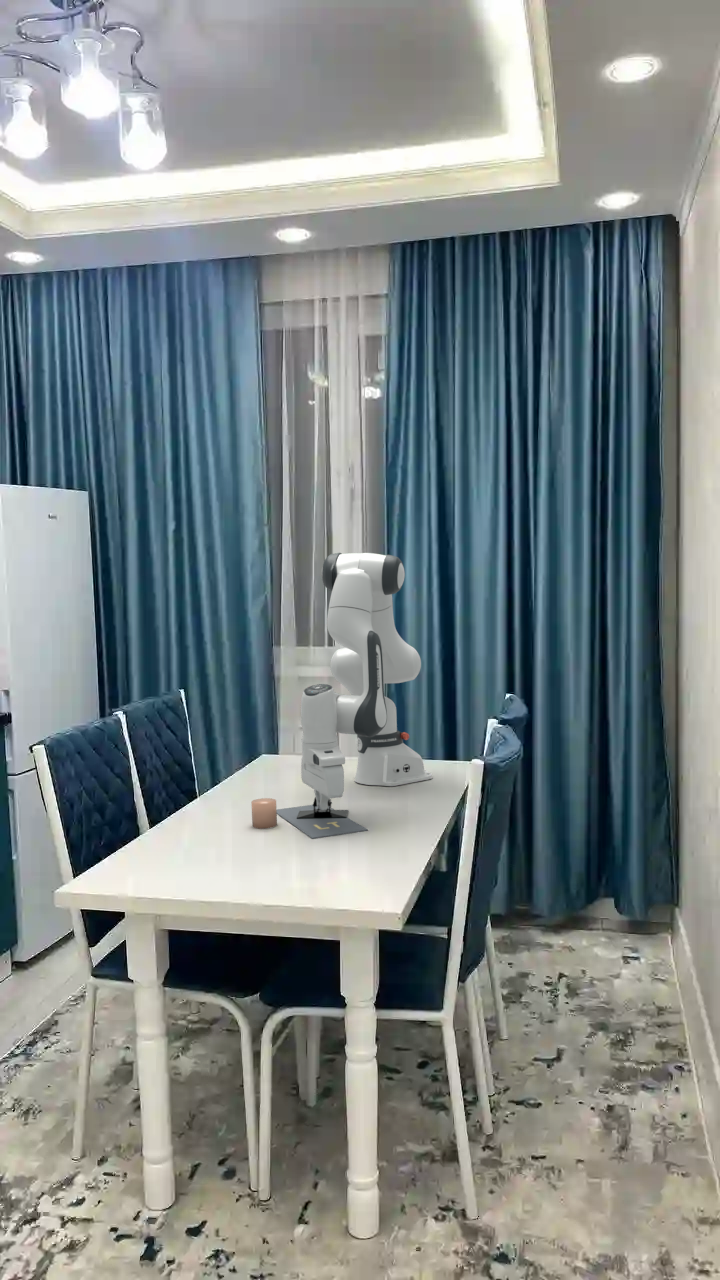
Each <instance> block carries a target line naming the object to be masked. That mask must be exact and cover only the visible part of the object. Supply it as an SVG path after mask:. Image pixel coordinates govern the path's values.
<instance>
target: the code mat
mask: <svg viewBox="0 0 720 1280" xmlns="http://www.w3.org/2000/svg"><path fill="white" fill-rule="evenodd" d="M276 809H277V808H276ZM316 809H318V807H317V806H316ZM319 809H320V808H319ZM328 809H329V806H328ZM304 810H314V806H313V804H307V805H300V806H293V807H286V808H285V807H284V808H278V809H277V816H279V817H280V818H282V819H283V820H285V821H286V822H288V823H289V824H290V825H292V826H293V827H295V828H297V830H299V831H300V832H302V833H303V834H305V835H306V836H307V837H309V838H310V839H312V840H314V839H321V838H328V837H334V836H339V835H340V836H341V835H347V834H354V833H361V832H367V831H368V828H367V827H365V826H363V825H361V824H360V823H358V822H357V821H355V820H353V819H351V818H350V817H348V816H347V818H324V819H297V816H298V813H299V811H304ZM331 810H335V809H334V808H332V807H331Z"/></svg>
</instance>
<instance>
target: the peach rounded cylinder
mask: <svg viewBox="0 0 720 1280" xmlns="http://www.w3.org/2000/svg"><path fill="white" fill-rule="evenodd" d="M250 805H251V822H252V824H251V825H252V826H251V827H253V828H254V829H260V830H262V829H263V830H264V829H271V828H275V827H277V826H278V817H277V816H278V814H277V800H276V799H275V798H270V797H269V798H268V797H264V798H263V797H262V798H257V799H256V798H255V799H253V800H251V804H250Z"/></svg>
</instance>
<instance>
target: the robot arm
mask: <svg viewBox="0 0 720 1280" xmlns="http://www.w3.org/2000/svg"><path fill="white" fill-rule="evenodd" d="M321 577H322V579H321V580H322V583H323V586H324V587H325V588H326V590H328V591H330V592H331V594H330V598H329V604H328V609H327V610H328V611H327V617H326V618H327V619H326V628H327V632H328V634H329V635H330V637H331V639H332V640H333V641H335V642H336V643H337V644H339V645H340V646H342V648H339V649H336V650H335V651H334V653H333V654H332V657H331V659H330V665H329V667H330V672H331V674H332V677H333V678H334V679H335V680H336V682H338V683H339V684H341V685H342V686H343V687H344V688H345V689H346V690H347V691H348V692H349V694H342V693H341V694H340V693H338V692H336V691H335V689H334V687H333V686H332V685H330V684H326V683H318V684H313V685H309V686H307V687H306V688H305V689H303V691H302V695H301V698H300V725H301V728H302V737H301V767H300V768H301V769H300V770H301V771H300V772H301V773H300V774H301V775H300V776H301V777H300V778H301V781H302V783H303V784H305V785H306V786H307V787H309V788H311V789H313V790H314V791H313V793H314V798H315V797H316V800H317V807H318V808H320V809H321V810H326V809H328V800H329V798H330V799H338V798H342V797H343V795H344V791H345V771H344V770H345V769H344V767H343V765H345V764H346V756H345V754H344V753H343V752H342V750H341V748H340V746H339V737H338V734H342V735H344V734H345V735H356V746H357V747H356V748H357V752H358V753H357V755H358V757H357V765H356V766H357V767H356V772H355V776H354V782H355V783H358V784H361V785H367V786H368V785H369V786H383V787H395V786H401V785H406V784H412V783H417V782H421V781H422V782H423V781H428V780H432V779H433V773H432V772H430V771H428V770H427V769H425V766H424V765H425V764H424V760H423V758H422V755H420V754H419V753H418V752H417V751H415V750H413V749H412V748H411V747H409V746H408V745H406V744H405V743H404V741H407V740H409V739H410V734H409V733H407V732H405V731H403V732H402V731H399V730H398V727H397V726H398V724H397V721H398V720H397V719H398V718H397V707H396V706H397V705H396V704H395V703H394V701H393V700H392V699H390V698H389V697H387V696H385V686H384V685H385V684H400V683H401V684H402V683H405V682H410V681H414V680H415V679H416V678H417V676H418V675H419V674H420V672H421V668H422V660H421V656H420V654H419V652H418V651H417V650H416V648H415V647H413V646H411V645H410V644H408V643H407V642H406V641H405V640H404V639H403V638H402V637H401V635H400V634H399V633H398V631H397V629H396V625H395V620H394V619H395V618H394V609H393V608H394V607H393V595H394V594H397V593H398V592H399V591H400V590H402V587H403V584H404V581H405V578H406V573H405V568H404V563H403V561H402V560H401V559H400V557H398V556H395V555H391V554H386V555H385V554H379V553H373V552H362V553H361V552H350V553H349V552H348V553H341V552H337V553H331V554H329V555H328V556H327V557H326V558H325V559H324V560H323V564H322V567H321Z"/></svg>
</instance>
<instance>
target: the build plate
mask: <svg viewBox="0 0 720 1280" xmlns="http://www.w3.org/2000/svg"><path fill="white" fill-rule="evenodd" d="M332 804H333V802H332V798H329V800H328V806H329V809H326V810H321V809H319V808H318V809H316V806H317V800H316V797H315V796H314V799H313V802H312V805H313V806H314V810H304V811H299V813H298V816H297V819H324V818H347V817H348V814H349V809H334V810H331V808H332Z"/></svg>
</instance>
